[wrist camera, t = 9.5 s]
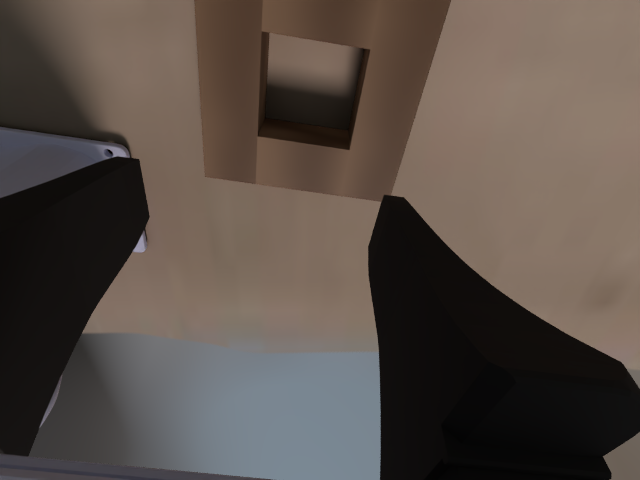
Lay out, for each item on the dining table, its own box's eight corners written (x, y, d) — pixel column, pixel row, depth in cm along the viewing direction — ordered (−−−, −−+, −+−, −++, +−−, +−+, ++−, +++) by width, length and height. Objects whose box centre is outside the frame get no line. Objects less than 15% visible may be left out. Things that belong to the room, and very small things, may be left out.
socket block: (216, 156, 22) (204, 176, 20) (209, -63, 15) (190, -65, 13) (383, 180, 22) (388, 202, 20) (441, -21, 16) (455, -16, 14)
